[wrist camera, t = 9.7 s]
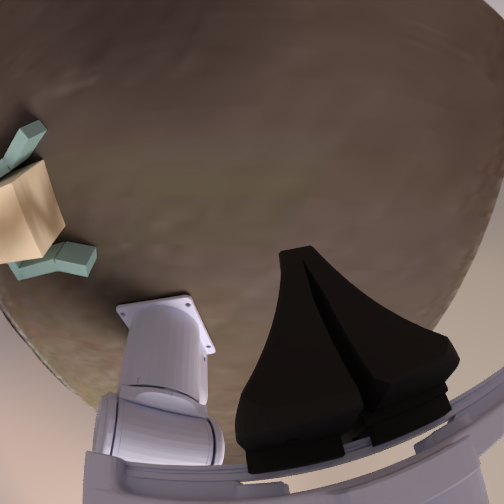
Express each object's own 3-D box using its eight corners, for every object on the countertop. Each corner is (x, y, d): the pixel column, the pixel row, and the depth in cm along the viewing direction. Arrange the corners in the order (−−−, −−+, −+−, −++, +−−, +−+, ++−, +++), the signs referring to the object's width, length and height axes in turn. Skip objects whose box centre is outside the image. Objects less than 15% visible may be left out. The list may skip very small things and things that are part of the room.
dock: (101, 256, 21) (92, 276, 19) (35, 273, 21) (25, 289, 19) (43, 116, 13) (24, 124, 11) (-20, 161, 13) (-37, 173, 11)
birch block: (66, 224, 19) (42, 257, 15) (21, 234, 19) (-2, 264, 15) (44, 158, 15) (11, 182, 12) (0, 176, 15) (-31, 201, 11)
